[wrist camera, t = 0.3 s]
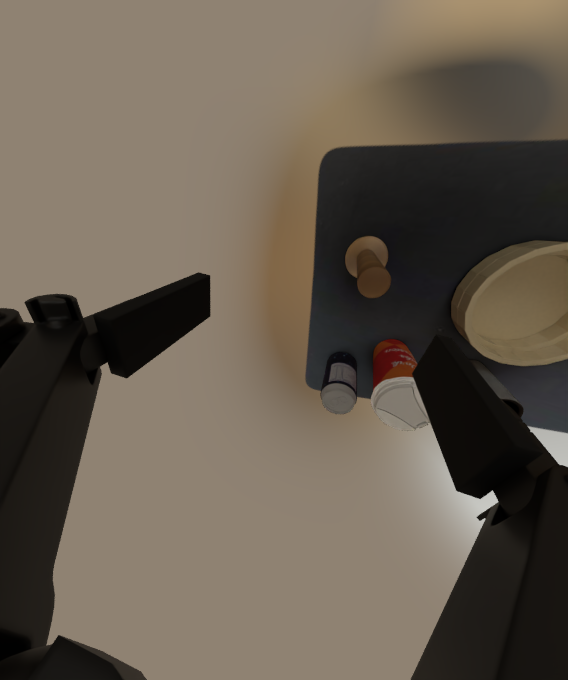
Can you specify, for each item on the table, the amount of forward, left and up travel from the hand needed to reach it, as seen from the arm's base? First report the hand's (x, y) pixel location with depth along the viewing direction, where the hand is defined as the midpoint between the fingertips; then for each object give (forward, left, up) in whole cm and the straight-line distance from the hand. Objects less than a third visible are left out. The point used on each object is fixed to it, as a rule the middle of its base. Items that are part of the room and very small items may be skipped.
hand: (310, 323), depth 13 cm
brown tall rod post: (0, +4, -28) cm, 28 cm away
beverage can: (+19, -3, -28) cm, 34 cm away
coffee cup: (+18, +6, -28) cm, 34 cm away
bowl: (+11, +23, -28) cm, 38 cm away
